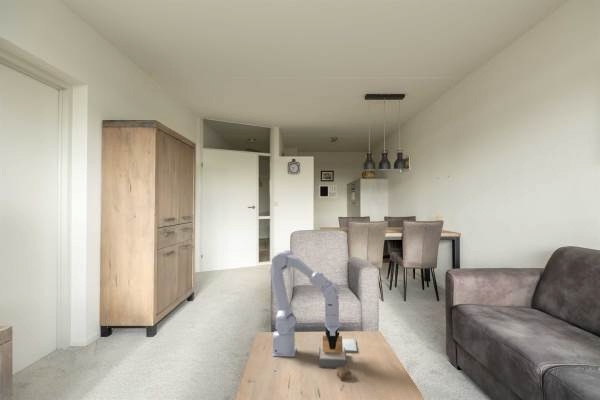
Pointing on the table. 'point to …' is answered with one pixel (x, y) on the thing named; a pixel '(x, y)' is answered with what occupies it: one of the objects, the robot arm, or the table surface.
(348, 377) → the walnut block
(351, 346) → the hard drive
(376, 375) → the table surface
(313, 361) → the table surface
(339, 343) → the block
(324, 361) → the stand
